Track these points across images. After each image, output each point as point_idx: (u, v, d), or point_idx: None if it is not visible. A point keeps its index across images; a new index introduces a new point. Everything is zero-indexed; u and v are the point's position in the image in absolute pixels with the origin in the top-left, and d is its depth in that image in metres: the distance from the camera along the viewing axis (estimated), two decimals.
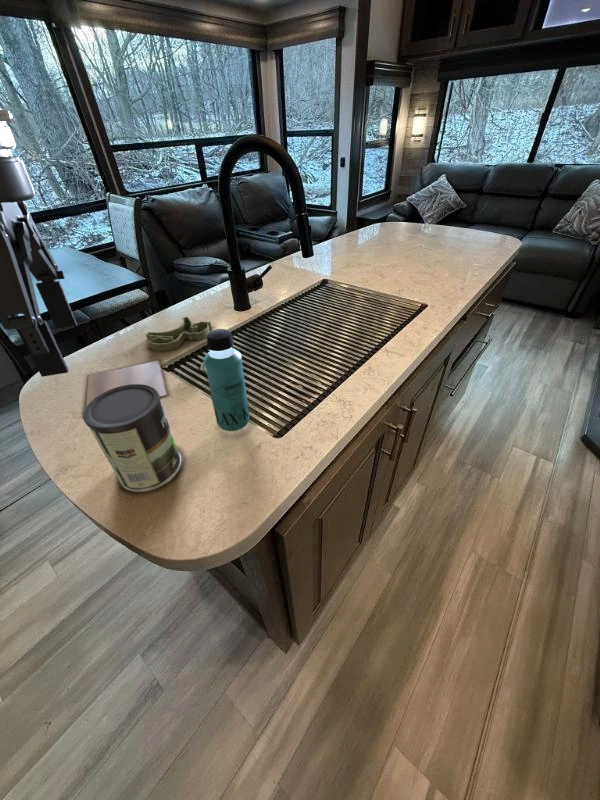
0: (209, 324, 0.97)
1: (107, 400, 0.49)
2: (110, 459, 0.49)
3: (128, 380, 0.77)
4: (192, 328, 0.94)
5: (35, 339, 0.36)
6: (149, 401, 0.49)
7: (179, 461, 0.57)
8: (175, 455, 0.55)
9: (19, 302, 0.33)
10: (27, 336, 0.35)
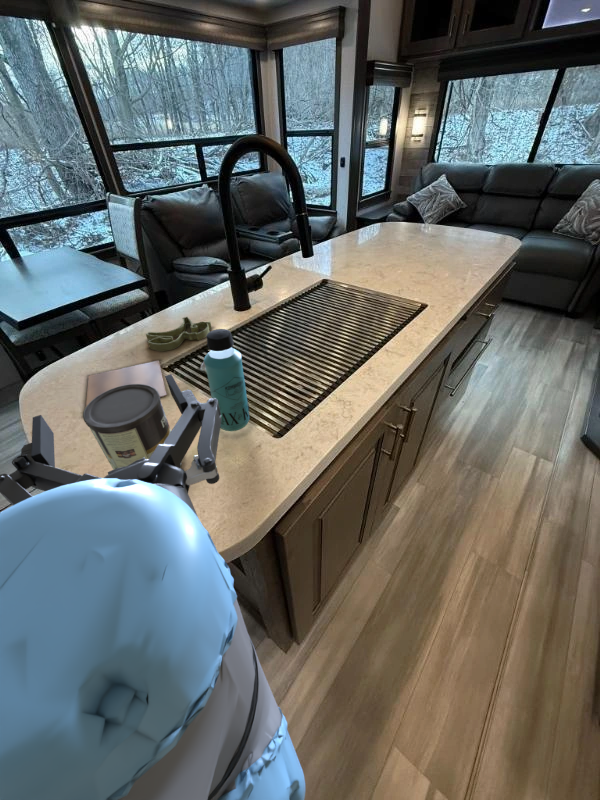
0: (209, 324, 0.97)
1: (107, 400, 0.49)
2: (110, 459, 0.49)
3: (128, 380, 0.77)
4: (192, 328, 0.94)
5: None
6: (149, 401, 0.49)
7: None
8: None
9: None
10: None
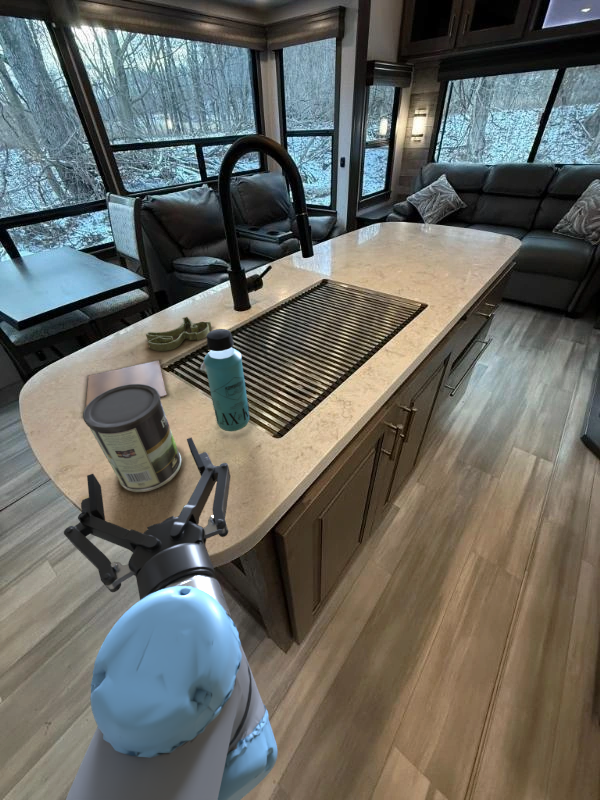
0: (209, 324, 0.97)
1: (107, 400, 0.49)
2: (110, 459, 0.49)
3: (128, 380, 0.77)
4: (192, 328, 0.94)
5: None
6: (149, 401, 0.49)
7: (179, 461, 0.57)
8: (175, 455, 0.55)
9: (79, 550, 0.39)
10: None
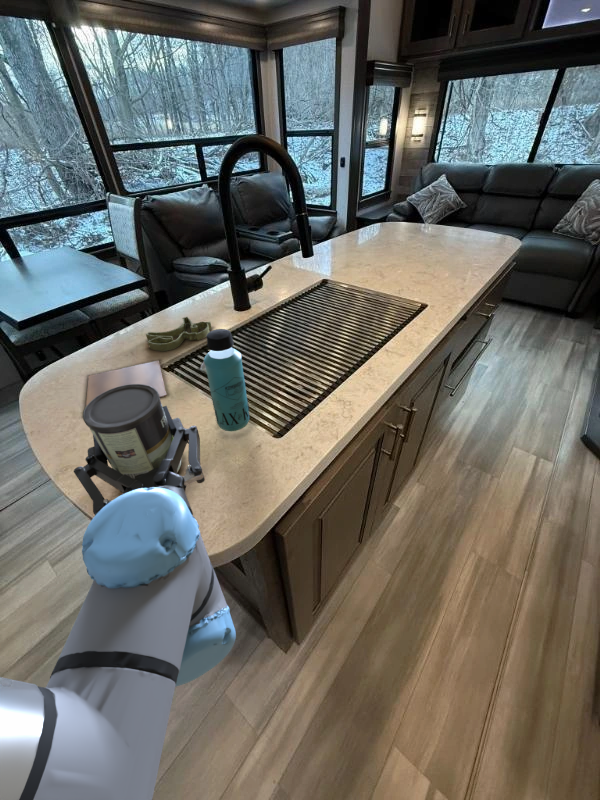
0: (209, 324, 0.97)
1: (107, 400, 0.49)
2: (110, 459, 0.49)
3: (128, 380, 0.77)
4: (192, 328, 0.94)
5: None
6: (149, 401, 0.49)
7: None
8: None
9: None
10: None
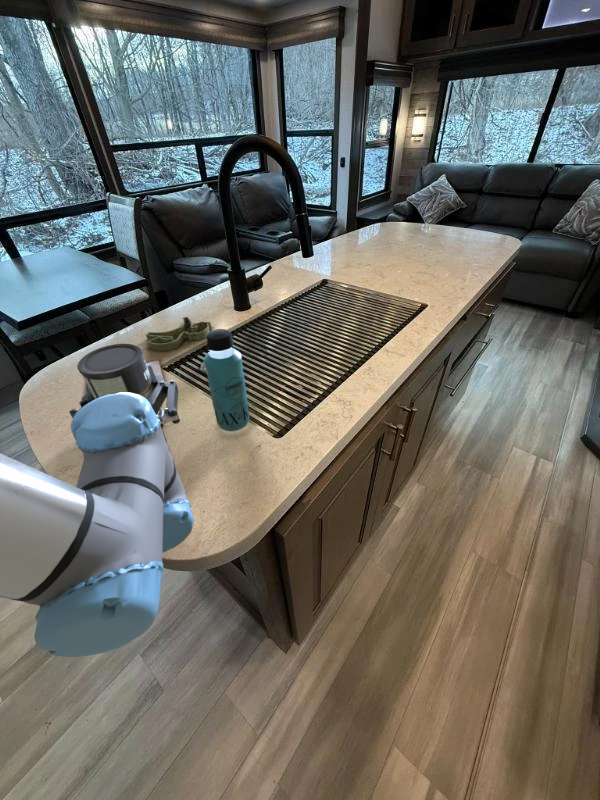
0: (209, 324, 0.97)
1: (98, 355, 0.58)
2: None
3: None
4: (192, 328, 0.94)
5: None
6: (134, 355, 0.57)
7: (161, 413, 0.65)
8: None
9: None
10: None
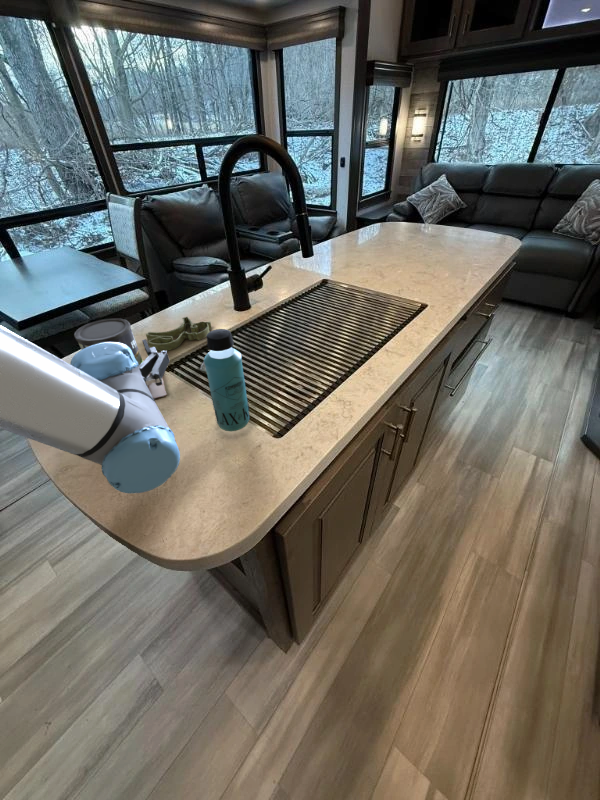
0: (209, 324, 0.97)
1: (92, 327, 0.68)
2: None
3: None
4: (192, 328, 0.94)
5: None
6: (122, 327, 0.68)
7: None
8: None
9: None
10: None
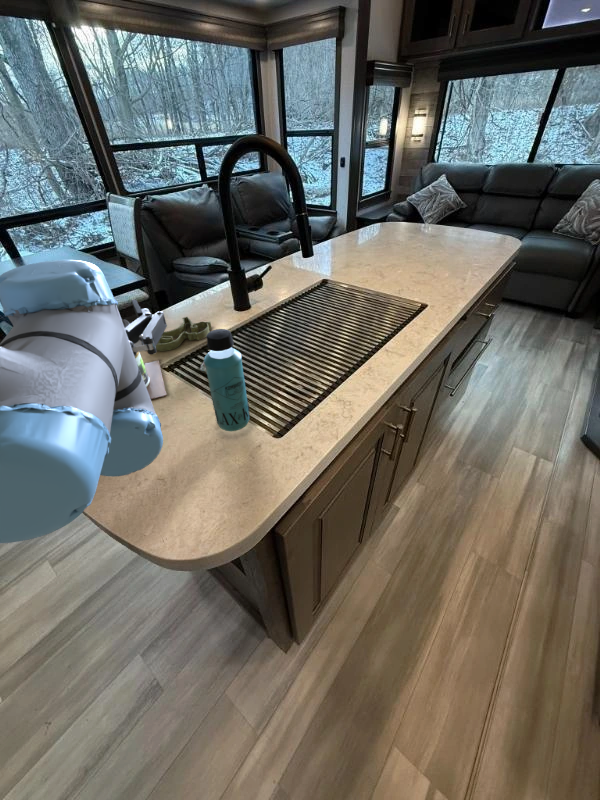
0: (209, 324, 0.97)
1: None
2: None
3: None
4: (192, 328, 0.94)
5: None
6: None
7: (147, 380, 0.75)
8: (144, 373, 0.74)
9: None
10: None
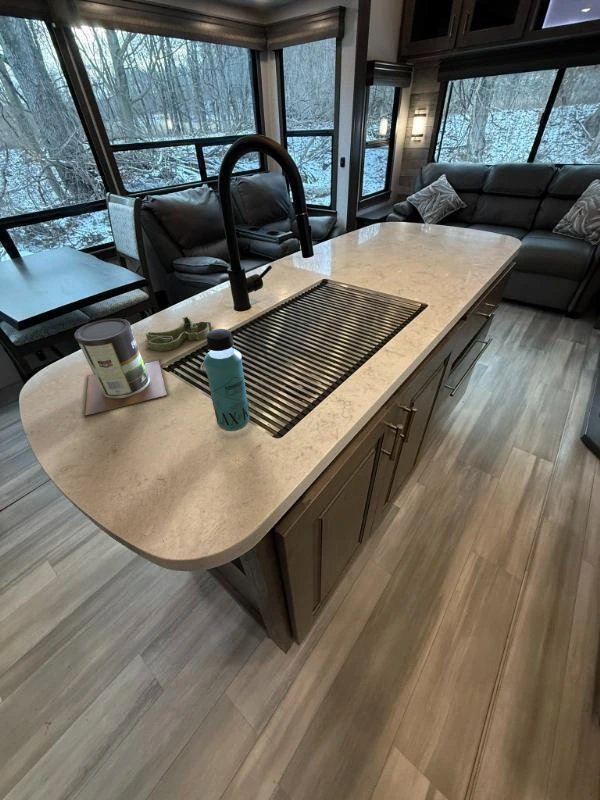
0: (209, 324, 0.97)
1: (92, 327, 0.68)
2: (94, 369, 0.68)
3: None
4: (192, 328, 0.94)
5: None
6: (122, 327, 0.68)
7: (147, 380, 0.75)
8: (144, 373, 0.74)
9: None
10: None
